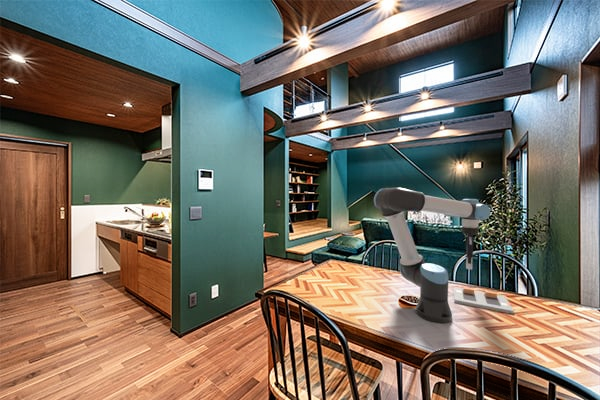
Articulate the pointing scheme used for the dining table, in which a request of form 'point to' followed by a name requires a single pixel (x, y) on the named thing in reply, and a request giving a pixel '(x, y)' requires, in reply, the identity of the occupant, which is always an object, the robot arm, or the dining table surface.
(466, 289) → the tab
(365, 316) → the dining table surface
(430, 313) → the robot arm
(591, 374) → the dining table surface
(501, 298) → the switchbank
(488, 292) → the tab
